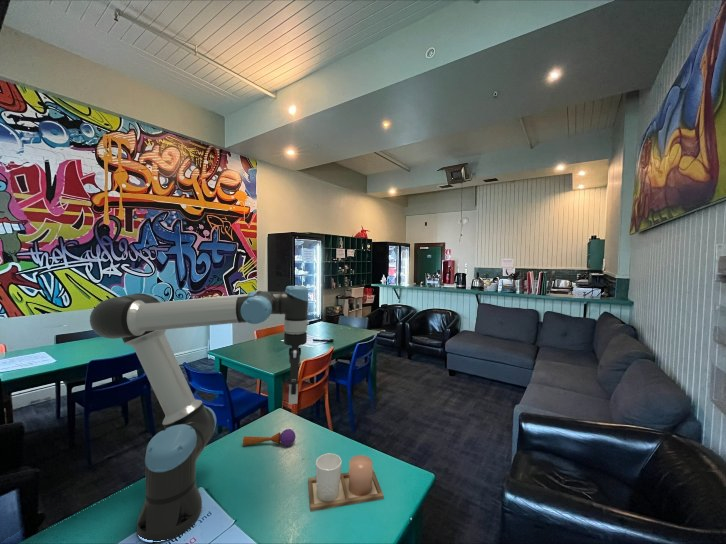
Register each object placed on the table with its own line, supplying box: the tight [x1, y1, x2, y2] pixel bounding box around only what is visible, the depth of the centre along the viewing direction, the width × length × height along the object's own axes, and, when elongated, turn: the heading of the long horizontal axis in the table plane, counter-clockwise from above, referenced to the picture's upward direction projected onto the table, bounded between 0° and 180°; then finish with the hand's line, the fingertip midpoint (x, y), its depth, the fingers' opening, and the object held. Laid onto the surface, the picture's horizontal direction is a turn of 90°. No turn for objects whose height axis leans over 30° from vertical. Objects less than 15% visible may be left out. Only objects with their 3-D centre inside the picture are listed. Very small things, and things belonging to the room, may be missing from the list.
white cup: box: [315, 453, 342, 501], centre depth 91 cm, size 8×8×10 cm
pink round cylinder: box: [348, 454, 374, 496], centre depth 93 cm, size 7×7×8 cm
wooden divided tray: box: [307, 468, 385, 512], centre depth 92 cm, size 22×12×2 cm, turn 104°
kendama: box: [242, 428, 296, 447], centre depth 117 cm, size 6×6×20 cm
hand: (293, 394), depth 99 cm, fingers open, 13 cm apart
